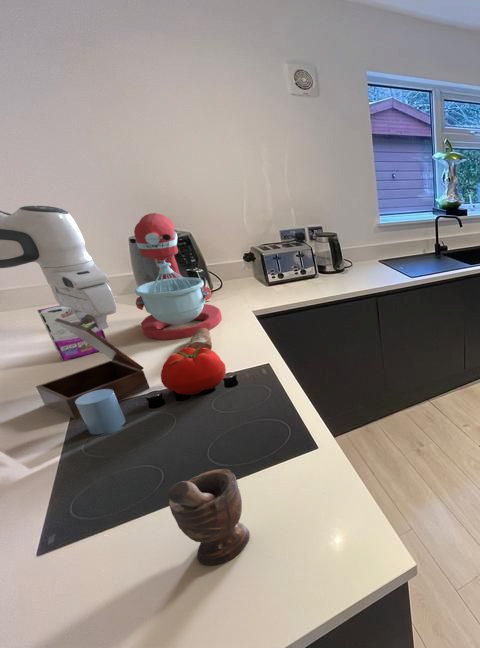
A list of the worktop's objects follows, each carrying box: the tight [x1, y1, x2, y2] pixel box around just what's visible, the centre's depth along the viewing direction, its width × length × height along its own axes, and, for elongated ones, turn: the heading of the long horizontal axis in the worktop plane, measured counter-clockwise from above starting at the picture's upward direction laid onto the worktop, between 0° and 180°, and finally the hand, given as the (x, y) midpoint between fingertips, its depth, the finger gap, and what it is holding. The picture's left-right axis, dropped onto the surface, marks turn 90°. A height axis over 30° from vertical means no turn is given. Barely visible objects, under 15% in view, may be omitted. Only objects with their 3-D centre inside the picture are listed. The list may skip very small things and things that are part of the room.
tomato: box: [160, 347, 227, 396], centre depth 110 cm, size 13×14×12 cm
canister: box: [75, 389, 127, 438], centre depth 94 cm, size 6×6×9 cm
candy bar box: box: [37, 304, 108, 362], centre depth 126 cm, size 11×5×16 cm, turn 147°
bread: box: [187, 328, 213, 350], centre depth 134 cm, size 6×19×6 cm, turn 31°
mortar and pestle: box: [167, 468, 251, 566], centre depth 63 cm, size 12×9×20 cm
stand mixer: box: [129, 212, 223, 341], centre depth 144 cm, size 24×32×40 cm
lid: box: [55, 314, 145, 371], centre depth 106 cm, size 16×15×5 cm
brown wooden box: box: [35, 359, 151, 420], centre depth 105 cm, size 16×15×6 cm
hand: (95, 325), depth 103 cm, fingers closed on lid, 6 cm apart
